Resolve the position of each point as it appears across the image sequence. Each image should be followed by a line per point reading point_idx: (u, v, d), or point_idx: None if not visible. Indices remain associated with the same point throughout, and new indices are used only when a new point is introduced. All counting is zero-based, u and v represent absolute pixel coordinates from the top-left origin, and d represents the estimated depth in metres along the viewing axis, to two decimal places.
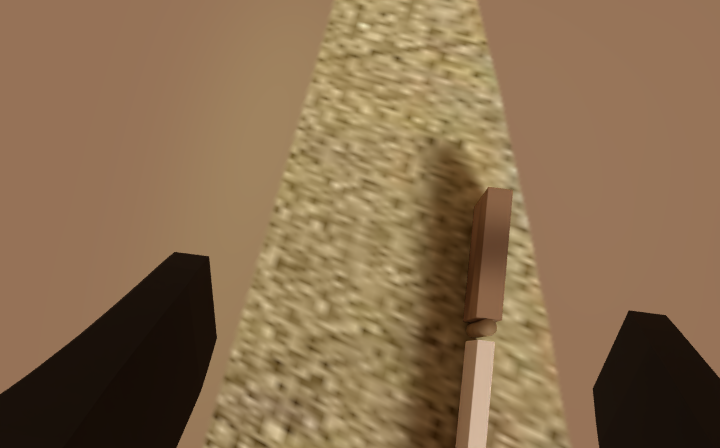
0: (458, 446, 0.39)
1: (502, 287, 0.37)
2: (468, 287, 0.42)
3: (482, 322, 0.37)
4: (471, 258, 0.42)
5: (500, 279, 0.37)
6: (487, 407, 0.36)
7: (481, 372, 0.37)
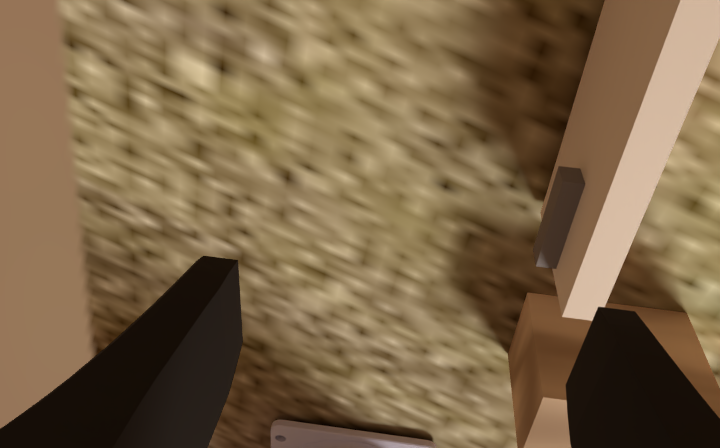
0: (584, 112, 0.18)
1: None
2: None
3: None
4: None
5: None
6: (699, 75, 0.13)
7: None
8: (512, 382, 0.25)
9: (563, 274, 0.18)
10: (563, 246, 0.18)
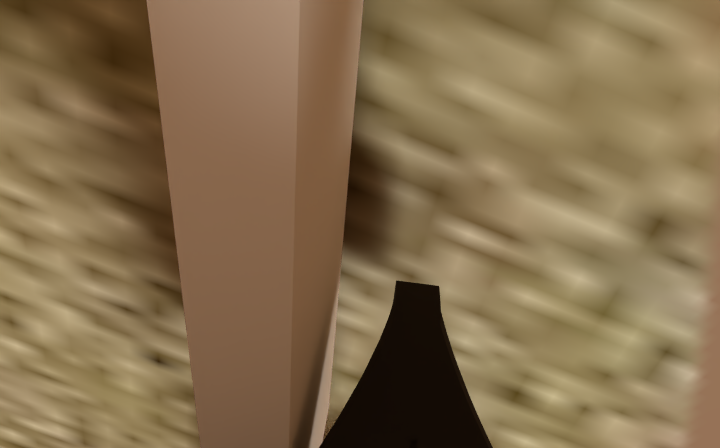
0: None
1: None
2: None
3: None
4: None
5: None
6: (279, 369, 0.06)
7: (216, 198, 0.05)
8: None
9: None
10: None
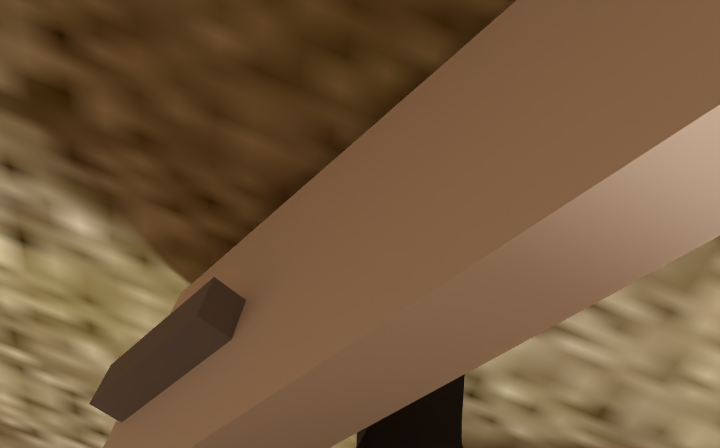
0: (309, 213, 0.10)
1: None
2: None
3: None
4: None
5: None
6: (515, 339, 0.06)
7: (682, 181, 0.05)
8: None
9: None
10: (148, 401, 0.10)
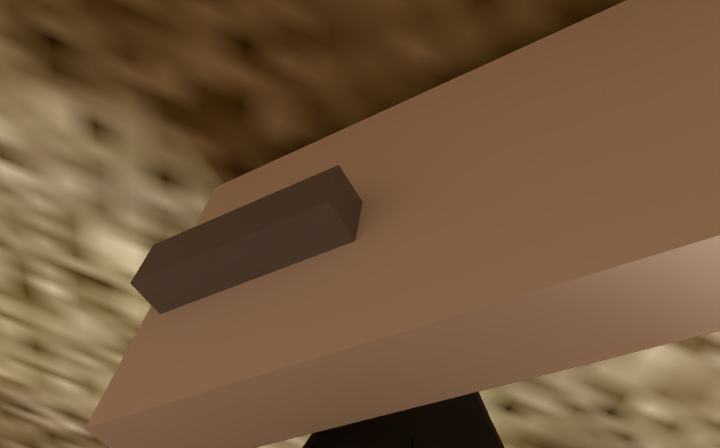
0: (446, 123, 0.08)
1: None
2: None
3: None
4: None
5: None
6: None
7: None
8: None
9: (163, 346, 0.08)
10: (209, 294, 0.08)
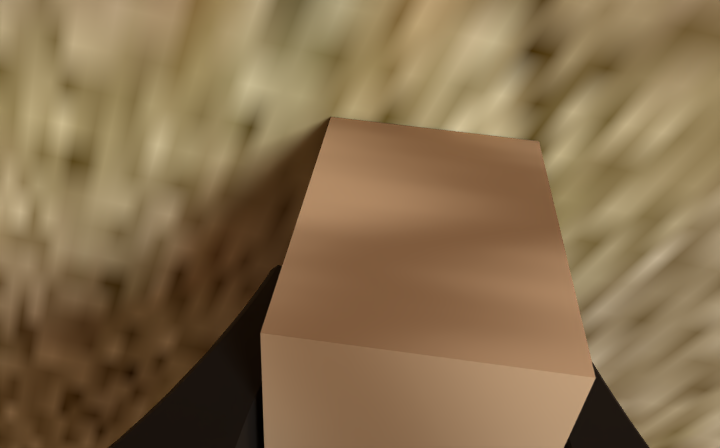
0: None
1: None
2: None
3: None
4: None
5: None
6: None
7: None
8: None
9: None
10: None
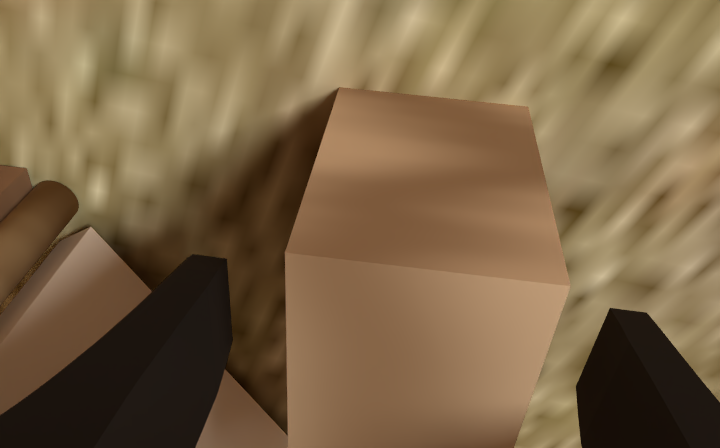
0: None
1: None
2: None
3: None
4: None
5: None
6: None
7: None
8: None
9: None
10: None
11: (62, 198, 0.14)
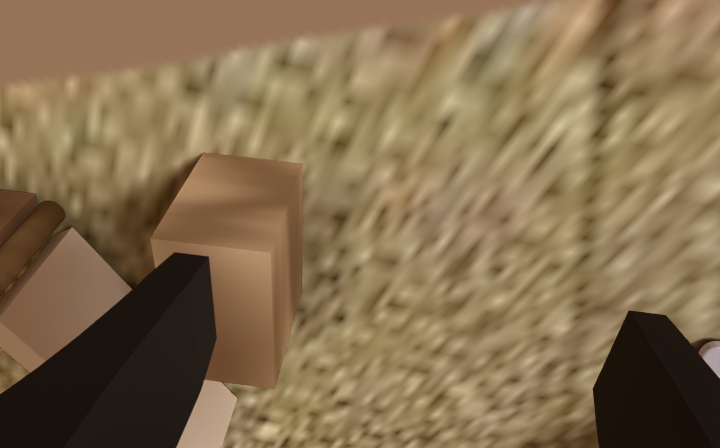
0: None
1: None
2: None
3: None
4: None
5: None
6: None
7: (27, 360, 0.21)
8: None
9: None
10: None
11: (55, 211, 0.24)
